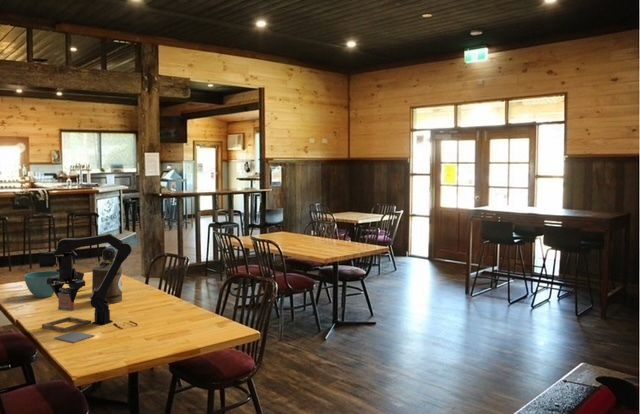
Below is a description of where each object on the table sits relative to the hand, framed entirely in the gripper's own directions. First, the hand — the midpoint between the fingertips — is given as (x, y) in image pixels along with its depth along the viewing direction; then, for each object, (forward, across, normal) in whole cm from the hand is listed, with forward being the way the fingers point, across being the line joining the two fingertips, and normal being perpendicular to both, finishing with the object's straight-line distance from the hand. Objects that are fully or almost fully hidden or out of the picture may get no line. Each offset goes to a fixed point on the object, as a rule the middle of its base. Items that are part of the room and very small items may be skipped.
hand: (66, 300), depth 246 cm
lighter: (+4, 0, 0) cm, 4 cm away
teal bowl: (+12, +59, -32) cm, 68 cm away
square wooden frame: (+12, 0, 0) cm, 12 cm away
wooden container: (+12, +20, -41) cm, 47 cm away
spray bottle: (+12, +35, -56) cm, 67 cm away
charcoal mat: (+12, -17, +10) cm, 23 cm away
